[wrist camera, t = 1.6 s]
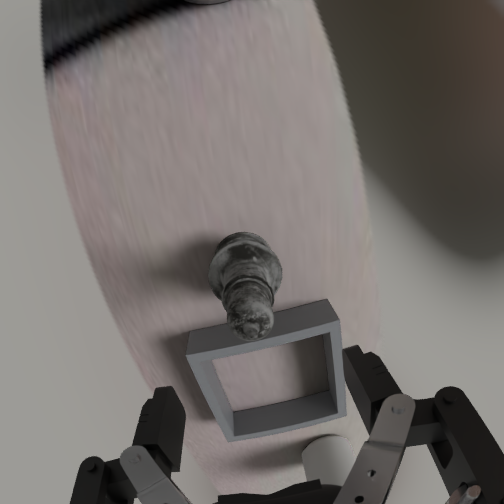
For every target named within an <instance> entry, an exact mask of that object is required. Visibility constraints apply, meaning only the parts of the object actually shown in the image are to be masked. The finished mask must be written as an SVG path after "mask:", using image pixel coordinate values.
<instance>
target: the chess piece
mask: <svg viewBox="0 0 504 504" xmlns="http://www.w3.org/2000/svg"><path fill="white" fill-rule="evenodd" d="M208 277H209V284H210V286H211V289H212V291H213V293H214V294H215V295H216V296H217V298H218V299H220V300H221V301H222V304H223V306H224V309H225V310H226V312H227V323H228V326H229V328H230V330H231V332H232V333H233V334H234V335H235V336H236V337H238V338H240V339H242V340H246V341H256V340H259V339H262V338H263V337H265V336H266V335H267V334H269V333H270V331H271V329H272V327H273V323H274V315H273V311H272V307H273V303H274V295H275V294H276V292H277V291H278V289H279V287H280V284H281V280H282V268H281V264H280V261H279V259H278V258H277V256H276V255H275V253H274V252H273V251H272V250H271V248H270V247H269V245H268V244H267V242H266V241H265V240H264V239H262V238H261V237H260V236H258V235H256V234H254V233H248V232H239V233H235V234H232V235H230V236H228V237H227V238H225V239H224V240H223V241H222V242H221V243H220V244H219V245H218V248H217V250H216V252H215V256H214V258H213V260H212V262H211V264H210V267H209V273H208Z"/></svg>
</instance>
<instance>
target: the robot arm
mask: <svg viewBox="0 0 504 504" xmlns="http://www.w3.org/2000/svg"><path fill="white" fill-rule="evenodd" d="M184 1H187V2H191V3H197V4H214V3H222V2H225V1H229V0H184ZM342 359H343V371H344V378H345V381H346V384H347V387H348V389H349V391H350V393H351V395H352V398H353V400H354V402H355V404H356V407H357V409H358V411H359V413H360V415H361V418H362V420H363V422H364V424H365V427H366V429H367V431H368V434H369V435H370V437H369V439H368V441H365V442H364V444H363V446H362V448H361V450H360V452H359V454H358V456H357V458H356V461H355V463H354V465H353V467H352V469H351V471H350V473H349V475H348V477H347V479H346V481H345V483H344V485H343V486H339V485H333V484H321V482H320V479H316V480H312V481H308V482H303V483H299V484H294V485H292V486H290V487H287V488H285V489H282V490H280V491H277V492H275V493H272V494H269V495H261V494H247V493H239V494H230V495H219V496H218V502H216V503H213V504H385V503H386V500H387V498H388V496H389V493H390V490H391V488H392V486H393V482H394V480H395V477H396V475H397V472H398V469H399V466H400V464H401V461H402V458H403V455H404V452H405V449H406V447H409V446H416V445H423V444H427V447H428V449H429V451H430V453H431V455H432V457H433V459H434V462H435V464H436V466H437V468H438V470H439V472H440V475H441V477H442V479H443V482H444V484H445V486H446V489H447V490H448V493H449V496H450V498H449V499H448V500H447V502H446V503H445V504H504V454H503V452H502V450H501V449H500V447H499V445H498V444H497V442H496V441H495V439H494V437H493V436H492V434H491V433H490V431H489V429H488V428H487V426H486V425H485V423H484V422H483V420H482V419H481V417H480V416H479V414H478V413H477V411H476V410H475V408H474V407H473V405H472V404H471V402H470V401H469V399H468V398H467V397H466V395H465V394H464V392H463V391H462V390H461V389H459V388H456V387H451V386H450V387H444V388H443V389H440V390H439V391H438V392H437V393H436V395H435V397H434V398H428V399H420V400H415V399H412V398H411V397H410V396H408V395H406V394H403V393H402V392H401V390H400V388H399V387H398V385H397V384H396V382H395V381H394V379H393V377H392V376H391V374H390V373H389V372H388V369H387V368H386V366H384V363H383V362H382V360H381V359H380V357H379V356H377V355H376V354H374V353H372V352H368V353H365V354H363V352H362V350H361V349H360V347H359V346H358V345H355V346H351V347H348V348H345V349H342ZM185 420H186V414H185V410H184V407H183V405H182V403H181V401H180V400H179V398H178V396H177V394H176V392H175V390H174V388H173V387H172V386H166V387H158V388H156V389H155V392H154V395H153V399H148V400H147V401H146V403H145V404H144V405H143V407H142V410H141V414H140V417H139V423H138V425H137V429H136V432H135V436H134V440H133V444H132V446H131V447H129V448H127V449H125V450H124V451H123V453H122V454H121V456H120V458H118V459H115V460H111V461H107V462H104V461H103V460H102V459H101V458H99V457H96V456H92V457H89V458H87V459H85V460H84V461H83V462H82V463H81V465H80V468H79V471H78V474H77V478H76V482H75V485H74V489H73V493H72V497H71V501H70V504H133V503H134V498H137V497H138V499H139V500H140V502H141V503H142V504H192V503H191V502H190V501H189V500H188V498H187V497H186V496H185V495H184V494H183V492H181V490H180V489H179V488H178V486H177V485H176V484H175V483H174V482H173V480H172V479H171V472H180V463H181V454H182V445H183V437H184V429H185Z"/></svg>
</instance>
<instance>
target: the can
mask: <svg viewBox="0 0 504 504" xmlns="http://www.w3.org/2000/svg"><path fill="white" fill-rule="evenodd" d="M301 456H302V461H303V465H304V470H305V474H306V479H307V482H308V481H312V480H316V479H320V482H321V484H333V485H339V486H343V485H344V483H345V481H346V479H347V477H348V475H349V473H350V471H351V469H352V467H353V465H354V463H355V461H356V457H355V454H354V452H353V449H352V446H351V443H350V441H349V440H348V439H346V438H344V437H340V436H335V435H331V436H325V437H321V438H319V439H316V440H314V441H313V442H311V443H310V444H309V445H308V446H307V447H306V448H305V449H304V450H303V452H302V455H301Z"/></svg>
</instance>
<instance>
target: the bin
mask: <svg viewBox="0 0 504 504" xmlns="http://www.w3.org/2000/svg"><path fill="white" fill-rule="evenodd" d="M273 315H274V323H273V327H272V329H271V331H270V333H269V334H267V335H266V336H265V337H263V338H262V339H259V340H256V341H246V340H242V339H240V338H238V337H236V336H235V335H234V334H233V333H232V332H231V330H230V328H229V326H228V323H227V324H222V325H218V326H213V327H208V328H203V329H199V330H194V331H190V334H189V339H188V344H187V350H186V355H185V356H186V358H187V360H188V362H189V364H190V367H191V369H192V371H193V373H194V375H195V378H196V380H197V382H198V384H199V386H200V388H201V390H202V392H203V394H204V396H205V398H206V400H207V403H208V405H209V407H210V409H211V411H212V413H213V415H214V416H215V418H216V420H217V422H218V424H219V426H220V428H221V430H222V432H223V434H224V436H225V437H226V439H227V441H228V442H234V441H240V440H246V439H252V438H258V437H263V436H268V435H273V434H278V433H283V432H287V431H292V430H296V429H300V428H304V427H308V426H312V425H316V424H320V423H323V422H327V421H331V420H334V419H337V418H341V417H344V416H347V412H346V391H345V378H344V371H343V359H342V337H341V327H340V319H339V318H338V316H337V314H336V313H335V311H334V309H333V308H332V306H331V304H330V302H329V301H328V299H326V300H322V301H318V302H314V303H311V304H307V305H303V306H299V307H295V308H291V309H287V310H283V311H279V312H275V313H273ZM321 334H323V342H324V349H325V357H326V365H327V374H328V382H329V391H325V392H321V393H318V394H314V395H310V396H306V397H302V398H299V399H294V400H290V401H286V402H282V403H277V404H273V405H268V406H263V407H258V408H253V409H248V410H242V411H237V412H233V410H232V408H231V406H230V403H229V401H228V399H227V397H226V394H225V392H224V389H223V387H222V385H221V382H220V380H219V378H218V375H217V373H216V370H215V368H214V365H213V363H212V359H218V358H223V357H228V356H233V355H238V354H242V353H247V352H252V351H256V350H261V349H265V348H269V347H274V346H278V345H282V344H286V343H290V342H294V341H298V340H302V339H306V338H310V337H313V336H317V335H321Z"/></svg>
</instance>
